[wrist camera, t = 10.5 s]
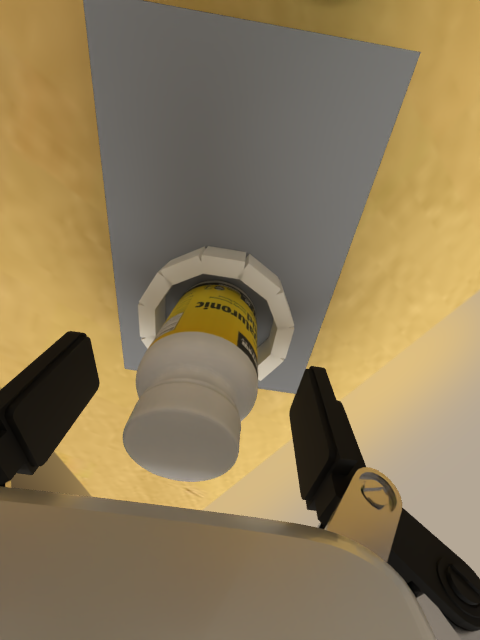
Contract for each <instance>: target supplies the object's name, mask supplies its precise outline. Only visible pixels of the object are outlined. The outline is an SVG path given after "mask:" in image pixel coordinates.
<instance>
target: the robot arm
mask: <svg viewBox="0 0 480 640" xmlns="http://www.w3.org/2000/svg"><path fill="white" fill-rule="evenodd" d="M98 387H99V378H98V373H97V368H96V364H95V359H94V354H93V350H92V345H91V340H90V338H89V337H87V335H86V334H85V333H80V332H73V331H69V332H67V333H66V334H65V335H63V336H62V337H61V338H60V339H59V340H58V341H56V342H55V343H54V344H53V345H52V346H51V347H50V348H48V349H47V350H46V351H45V352H44V353H43V354H41V355H40V356H39V357H38V358H37V359H36V360H35V361H33V362H32V363H31V364H30V365H29V366H28V367H26V368H25V369H24V370H23V371H22V372H21V373H20V374H18V375H17V376H16V377H15V378H14V379H13V380H11V381H10V382H9V383H8V384H7V385H6V386H5V387H3V388H2V389H1V390H0V640H480V579H479V577H478V576H477V575H476V573H475V572H474V571H473V570H472V569H471V568H470V567H469V566H468V565H467V564H466V563H465V562H464V561H463V560H462V559H461V558H459V557H458V556H457V555H456V554H455V553H454V552H453V551H451V550H450V549H449V548H448V547H447V546H446V545H444V544H443V543H442V542H441V541H440V540H439V539H438V538H437V537H435V536H434V535H433V534H432V533H431V532H430V531H428V530H427V529H426V528H425V527H424V526H423V525H422V524H421V523H419V522H418V521H417V520H416V519H415V518H414V517H413V516H411V515H410V514H409V513H408V512H407V511H406V510H404V509H403V508H402V500H401V496H400V494H399V492H398V490H397V488H396V487H395V485H394V484H393V483H392V482H391V481H390V480H389V479H388V478H387V477H386V476H385V475H384V474H382V473H381V472H379V471H378V470H375V469H372V468H368V467H366V465H365V463H364V460H363V457H362V455H361V452H360V449H359V447H358V444H357V442H356V439H355V436H354V434H353V431H352V428H351V426H350V423H349V420H348V418H347V415H346V413H345V410H344V407H343V405H342V403H341V402H340V401H337V400H336V398H335V395H334V392H333V389H332V386H331V384H330V381H329V378H328V375H327V372H326V370H325V368H321V367H314V366H311V367H310V368H309V369H305V371H304V374H303V376H302V379H301V382H300V384H299V387H298V390H297V392H296V395H295V397H294V400H293V403H292V405H291V408H290V423H291V430H292V437H293V443H294V451H295V458H296V465H297V472H298V479H299V485H300V493H301V497H302V499H303V500H306V504H307V509H308V510H314V511H317V516H318V520H319V521H320V523H319V525H318V527H317V528H316V527H311V526H306V525H301V524H296V523H289V522H282V521H275V520H269V519H262V518H256V517H248V516H240V515H233V514H224V513H217V512H209V511H202V510H194V509H186V508H178V507H170V506H162V505H154V504H146V503H138V502H130V501H121V500H113V499H105V498H97V497H88V496H80V495H72V494H63V493H54V492H46V491H37V490H29V489H19V488H11V479H12V478H13V477H14V475H15V474H16V473H20V474H28V475H33V474H34V472H35V471H36V469H37V468H38V467H39V466H42V465H43V464H44V463H45V462H46V461H47V460H48V458H49V457H50V456H51V454H52V453H53V452H54V450H55V449H56V447H57V446H58V445H59V443H60V442H61V440H62V439H63V437H64V436H65V435H66V433H67V432H68V430H69V429H70V428H71V426H72V425H73V423H74V422H75V421H76V419H77V418H78V416H79V415H80V414H81V412H82V411H83V409H84V408H85V407H86V405H87V404H88V402H89V401H90V400H91V398H92V397H93V395H94V394H95V393H96V391H97V390H98Z"/></svg>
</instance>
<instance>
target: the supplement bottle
mask: <svg viewBox="0 0 480 640" xmlns="http://www.w3.org/2000/svg"><path fill="white" fill-rule="evenodd" d="M257 354H258V353H257V317H256V311H255V308H254V305H253V303H252V301H251V300H250V298H249V297H248V296H247V295H246V294H245V293H244V292H243V291H242V290H241V289H239V288H238V287H236V286H234V285H232V284H230V283H227V282H223V281H205V282H202V283H199V284H197V285H195V286H193V287H191V288H190V289H189V290H188V291H186V292H185V293H184V295H183V296H182V297H181V299H180V300H179V301H178V303H177V304H176V306H175V308H174V309H173V311H172V312H171V314H170V315H169V317H168V318H167V320H166V321H165V323H164V325H163V326H162V328H161V329H160V331H159V332H158V334H157V336H156V337H155V339H154V340H153V342H152V343H151V345H150V346H149V348H148V349H147V351H146V353H145V354H144V356H143V358H142V360H141V362H140V364H139V367H138V369H137V374H136V389H137V393H138V396H139V400H138V402H137V403H136V405H135V408H134V410H133V412H132V414H131V416H130V418H129V420H128V422H127V424H126V426H125V428H124V432H123V443H124V447H125V449H126V451H127V453H128V454H129V455H130V457H131V458H132V459H133V460H134V461H135V462H136V463H137V464H139V465H140V466H141V467H143V468H144V469H146V470H148V471H149V472H151V473H153V474H156V475H158V476H161V477H165V478H168V479H172V480H177V481H188V482H196V481H205V480H210V479H213V478H216V477H218V476H221V475H223V474H224V473H226V472H227V471H228V470H230V468H231V467H232V466H233V465H234V464H235V462H236V460H237V457H238V453H239V440H240V431H241V421H242V420H243V419H244V418H245V417H246V416H247V415H248V414H249V412H250V411H251V410H252V408H253V406H254V403H255V401H256V397H257V390H258V358H257Z"/></svg>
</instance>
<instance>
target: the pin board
mask: <svg viewBox="0 0 480 640" xmlns="http://www.w3.org/2000/svg"><path fill="white" fill-rule="evenodd" d="M83 3H84V12H85V21H86V30H87V38H88V47H89V56H90V65H91V74H92V83H93V92H94V101H95V109H96V118H97V127H98V136H99V145H100V154H101V163H102V172H103V180H104V189H105V198H106V207H107V216H108V225H109V234H110V242H111V251H112V260H113V269H114V278H115V287H116V296H117V305H118V313H119V322H120V331H121V340H122V349H123V358H124V367H125V369H130V370H137V369H138V367H139V364H140V362H141V360H142V358H143V356H144V354H145V353H146V351H147V349H148V348H149V346H150V345H151V343H152V342H153V340H154V339H155V337H156V336H157V334H158V332H159V331H160V329H161V328H162V326H163V325H164V323H165V321H166V320H167V318H168V317H169V315H170V314H171V312H172V311H173V309H174V308H175V306H176V304H177V303H178V301H179V300H180V299H181V297H182V296H183V295H184V293H185V292H186V291H188V290H189V289H190V288H191V287H193V286H195V285H197V284H199V283H202V282H205V281H223V282H227V283H230V284H232V285H234V286H236V287H238V288H239V289H241V290H242V291H243V292H244V293H245V294H246V295H247V296H248V297H249V298H250V300H251V301H252V303H253V305H254V308H255V311H256V317H257V353H258V354H257V358H258V388H260V389H266V390H273V391H280V392H287V393H294V394H296V392H297V390H298V387H299V384H300V382H301V379H302V376H303V374H304V371H305V369H306V366H307V364H308V361H309V358H310V355H311V353H312V350H313V347H314V344H315V342H316V339H317V336H318V333H319V331H320V328H321V325H322V322H323V320H324V317H325V314H326V311H327V309H328V306H329V303H330V300H331V298H332V295H333V292H334V289H335V287H336V284H337V281H338V278H339V276H340V273H341V270H342V267H343V265H344V262H345V259H346V256H347V254H348V251H349V248H350V245H351V243H352V240H353V237H354V234H355V232H356V229H357V226H358V223H359V220H360V218H361V215H362V212H363V209H364V207H365V204H366V201H367V198H368V196H369V193H370V190H371V187H372V185H373V182H374V179H375V176H376V174H377V171H378V168H379V165H380V163H381V160H382V157H383V154H384V152H385V149H386V146H387V143H388V141H389V138H390V135H391V132H392V130H393V127H394V124H395V121H396V119H397V116H398V113H399V110H400V108H401V105H402V102H403V99H404V97H405V94H406V91H407V88H408V86H409V83H410V80H411V77H412V75H413V72H414V69H415V66H416V64H417V61H418V58H419V55H420V53H421V52H417V51H411V50H406V49H401V48H395V47H390V46H385V45H379V44H374V43H368V42H363V41H358V40H352V39H347V38H342V37H336V36H331V35H325V34H320V33H315V32H309V31H304V30H299V29H293V28H288V27H282V26H277V25H272V24H266V23H261V22H256V21H250V20H245V19H239V18H234V17H229V16H223V15H218V14H213V13H207V12H202V11H196V10H191V9H186V8H180V7H175V6H170V5H164V4H159V3H153V2H148V1H143V0H83Z"/></svg>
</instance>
